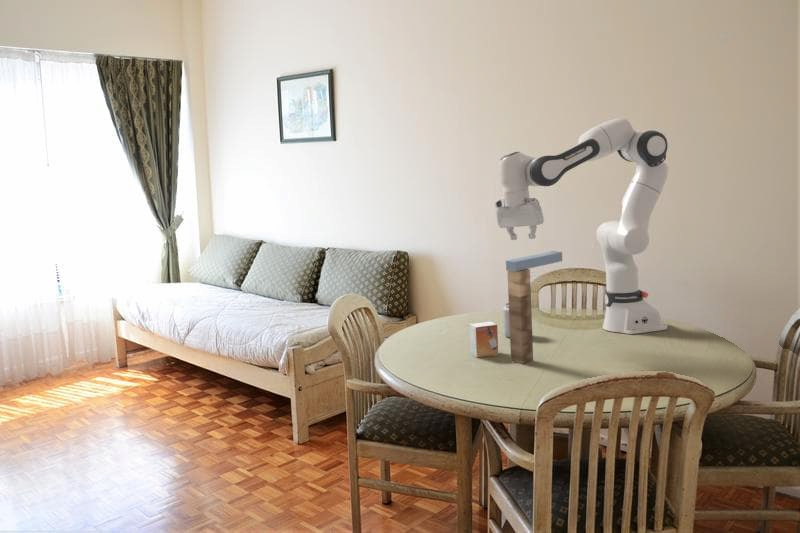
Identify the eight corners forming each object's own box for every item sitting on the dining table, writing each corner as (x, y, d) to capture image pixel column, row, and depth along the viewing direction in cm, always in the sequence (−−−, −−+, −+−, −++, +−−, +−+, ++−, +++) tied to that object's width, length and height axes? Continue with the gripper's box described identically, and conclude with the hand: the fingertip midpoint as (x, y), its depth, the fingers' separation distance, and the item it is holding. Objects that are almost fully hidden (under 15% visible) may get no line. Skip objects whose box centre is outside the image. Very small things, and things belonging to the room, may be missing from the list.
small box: (476, 358, 241) (475, 327, 239) (470, 353, 246) (468, 323, 244) (498, 354, 243) (497, 324, 241) (492, 350, 248) (491, 320, 246)
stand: (521, 357, 238) (518, 267, 233) (533, 360, 234) (530, 269, 229) (511, 361, 235) (507, 270, 230) (522, 364, 231) (518, 271, 226)
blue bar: (553, 260, 242) (552, 251, 241) (562, 261, 238) (562, 252, 238) (506, 270, 229) (505, 260, 228) (515, 271, 226) (515, 261, 225)
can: (524, 332, 268) (522, 301, 266) (525, 338, 260) (524, 305, 258) (503, 333, 268) (502, 302, 266) (504, 339, 261) (503, 306, 259)
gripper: (544, 195, 243) (550, 236, 245) (504, 200, 261) (510, 238, 262) (530, 198, 240) (537, 239, 241) (491, 203, 257) (497, 241, 259)
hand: (523, 239), depth 252 cm, fingers open, 8 cm apart
